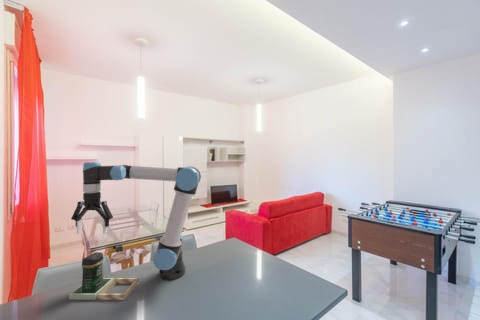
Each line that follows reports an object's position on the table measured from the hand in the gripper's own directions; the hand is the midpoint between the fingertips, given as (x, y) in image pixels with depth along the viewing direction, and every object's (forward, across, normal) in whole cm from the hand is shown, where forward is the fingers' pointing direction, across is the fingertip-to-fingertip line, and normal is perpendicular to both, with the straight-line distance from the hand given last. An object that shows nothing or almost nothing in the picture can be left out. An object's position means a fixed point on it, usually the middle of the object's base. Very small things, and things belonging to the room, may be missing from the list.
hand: (92, 233), depth 116 cm
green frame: (+30, 0, 0) cm, 30 cm away
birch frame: (+30, -14, 0) cm, 33 cm away
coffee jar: (+30, 0, 0) cm, 30 cm away
